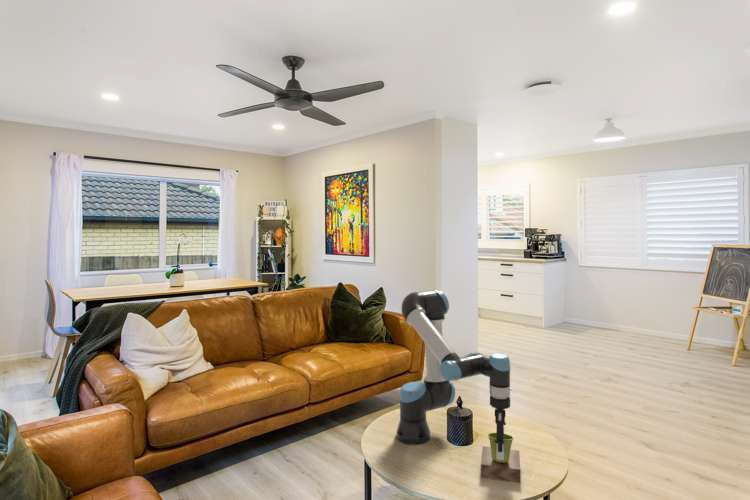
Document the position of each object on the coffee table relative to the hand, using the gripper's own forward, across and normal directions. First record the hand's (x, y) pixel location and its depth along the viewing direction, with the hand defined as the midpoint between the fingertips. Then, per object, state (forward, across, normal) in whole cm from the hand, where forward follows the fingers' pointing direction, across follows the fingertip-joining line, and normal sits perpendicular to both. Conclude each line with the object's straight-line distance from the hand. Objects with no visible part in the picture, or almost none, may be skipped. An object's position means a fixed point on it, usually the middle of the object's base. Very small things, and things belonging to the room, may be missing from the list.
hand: (500, 450), depth 163 cm
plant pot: (+2, -4, 0) cm, 4 cm away
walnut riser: (+8, 0, 0) cm, 8 cm away
